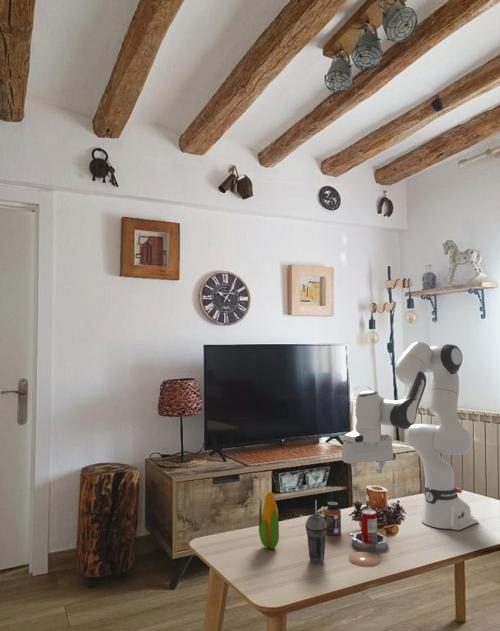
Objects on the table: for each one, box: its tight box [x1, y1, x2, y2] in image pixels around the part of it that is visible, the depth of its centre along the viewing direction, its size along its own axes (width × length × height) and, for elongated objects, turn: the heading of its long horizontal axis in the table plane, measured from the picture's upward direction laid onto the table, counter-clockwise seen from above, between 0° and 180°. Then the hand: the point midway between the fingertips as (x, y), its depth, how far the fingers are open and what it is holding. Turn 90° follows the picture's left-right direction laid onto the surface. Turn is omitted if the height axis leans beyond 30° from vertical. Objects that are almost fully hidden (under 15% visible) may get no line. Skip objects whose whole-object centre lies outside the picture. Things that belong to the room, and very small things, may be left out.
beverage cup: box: [305, 499, 327, 566], centre depth 169 cm, size 7×7×20 cm
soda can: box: [360, 508, 378, 543], centre depth 183 cm, size 6×6×12 cm
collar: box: [349, 531, 388, 553], centre depth 183 cm, size 13×12×3 cm
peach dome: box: [348, 551, 380, 567], centre depth 170 cm, size 10×10×1 cm
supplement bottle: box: [325, 501, 342, 536], centre depth 194 cm, size 6×6×11 cm
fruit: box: [317, 505, 328, 519], centre depth 203 cm, size 9×9×8 cm
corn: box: [258, 491, 280, 550], centre depth 180 cm, size 7×8×20 cm
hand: (368, 474), depth 185 cm, fingers open, 8 cm apart
